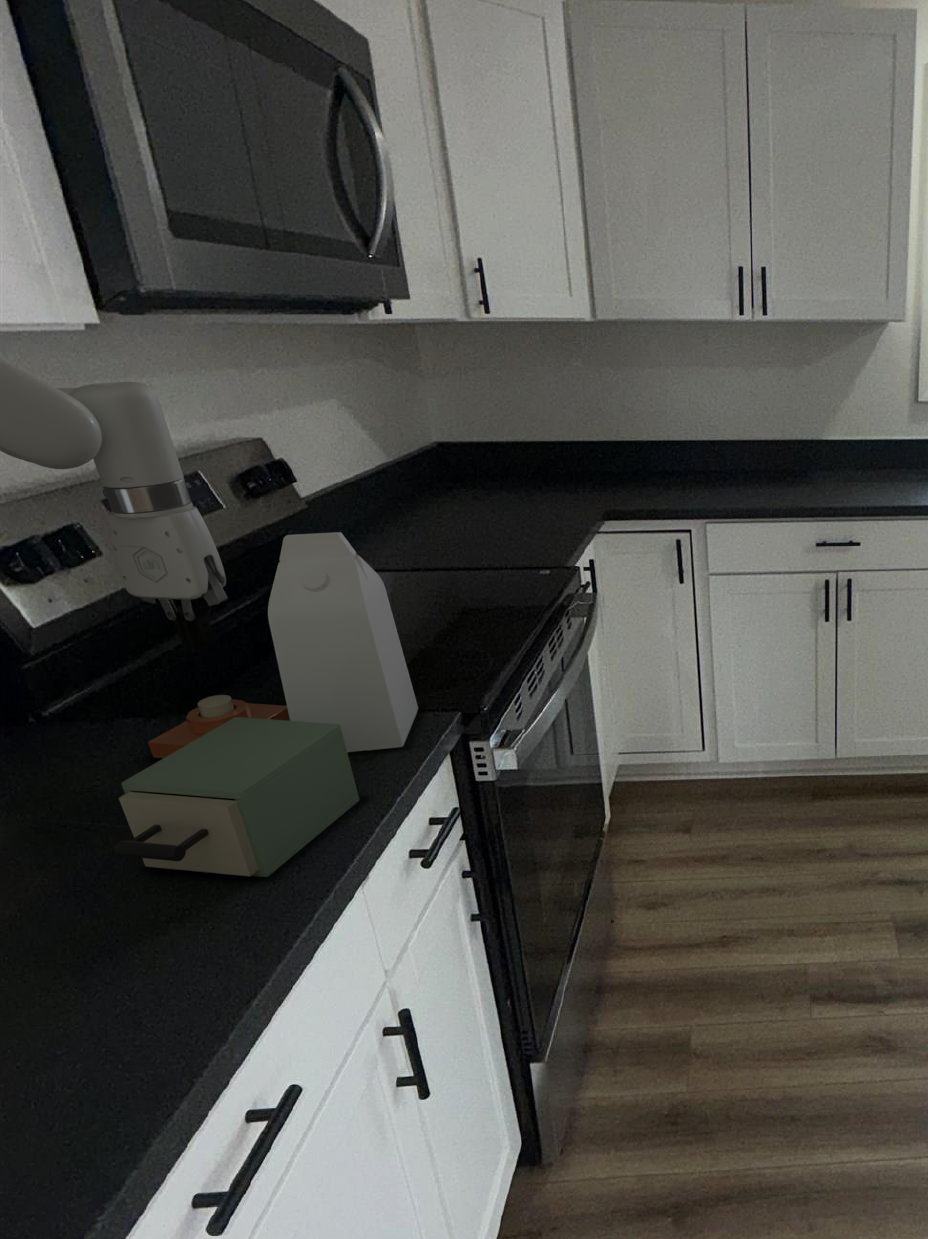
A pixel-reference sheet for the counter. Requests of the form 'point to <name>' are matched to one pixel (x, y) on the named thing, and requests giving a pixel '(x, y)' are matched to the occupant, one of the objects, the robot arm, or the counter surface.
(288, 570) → the milk
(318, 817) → the green drawer cabinet
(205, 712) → the button
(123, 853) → the beige drawer
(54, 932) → the counter surface
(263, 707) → the control block
